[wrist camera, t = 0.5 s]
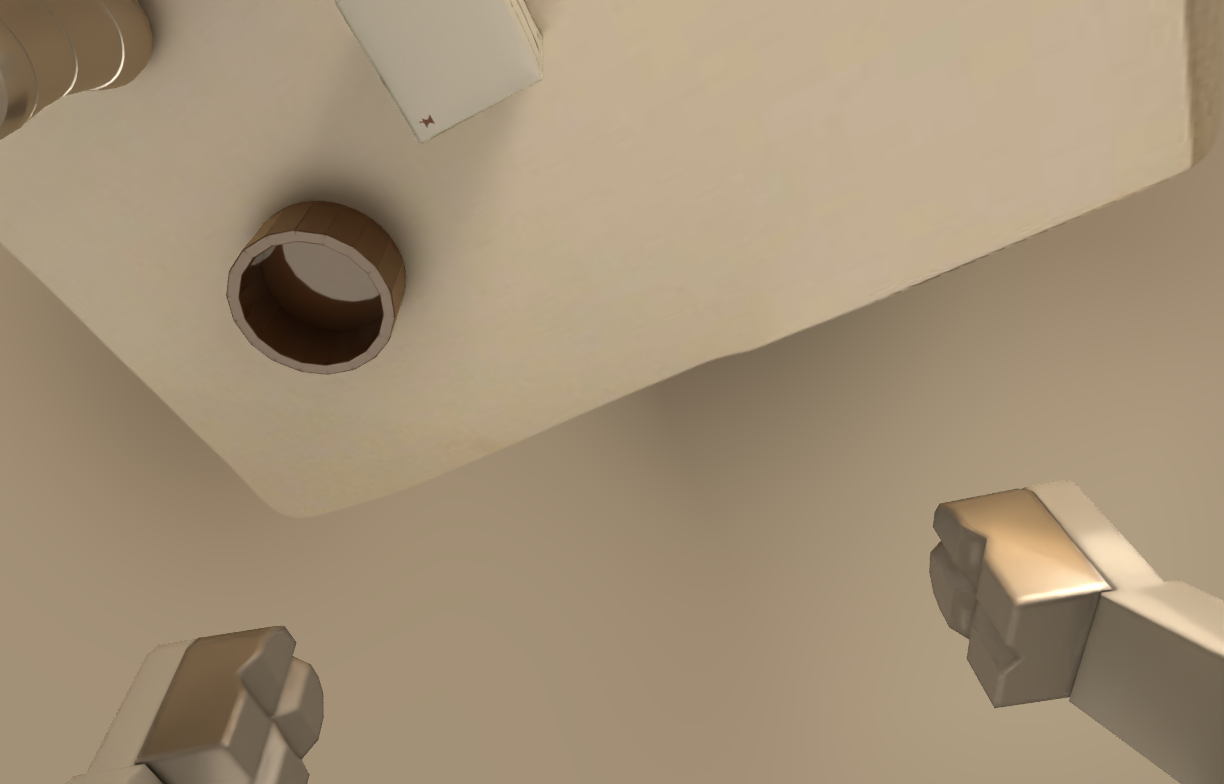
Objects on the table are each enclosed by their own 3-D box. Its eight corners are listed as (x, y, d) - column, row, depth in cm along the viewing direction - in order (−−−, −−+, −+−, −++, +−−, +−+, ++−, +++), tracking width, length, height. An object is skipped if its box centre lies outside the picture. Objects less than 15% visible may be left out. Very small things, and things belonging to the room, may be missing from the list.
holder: (226, 216, 52) (196, 248, 47) (379, 187, 52) (363, 216, 47) (287, 346, 58) (266, 386, 53) (425, 321, 58) (415, 359, 53)
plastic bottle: (115, 100, 47) (-112, 216, 31) (16, -2, 44) (-301, 65, 27) (189, 40, 46) (-8, 127, 29) (92, -71, 42) (-194, -43, 26)
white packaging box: (546, 40, 48) (548, 84, 37) (443, 93, 49) (417, 150, 38) (488, -87, 44) (472, -78, 33) (377, -26, 45) (328, 1, 34)
